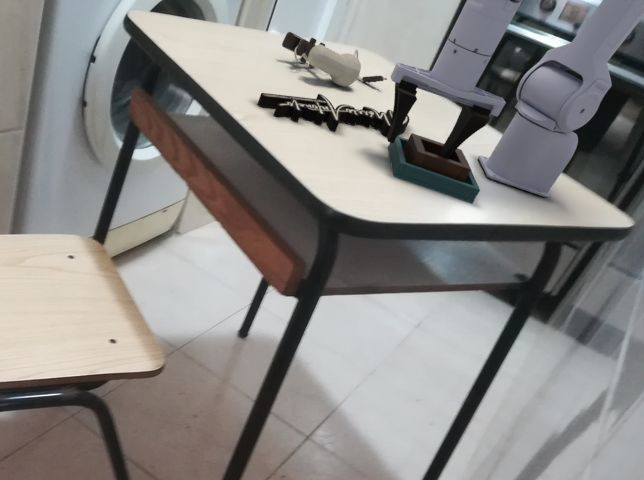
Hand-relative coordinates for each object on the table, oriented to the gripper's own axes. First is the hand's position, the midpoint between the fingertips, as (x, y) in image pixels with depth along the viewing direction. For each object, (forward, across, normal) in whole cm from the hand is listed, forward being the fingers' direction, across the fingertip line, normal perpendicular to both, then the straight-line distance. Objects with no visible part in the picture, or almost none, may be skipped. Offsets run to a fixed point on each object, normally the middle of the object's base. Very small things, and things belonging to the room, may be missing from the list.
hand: (416, 149), depth 91 cm
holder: (+3, -3, 0) cm, 4 cm away
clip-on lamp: (+3, +10, -32) cm, 33 cm away
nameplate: (+3, +9, -11) cm, 15 cm away
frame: (+2, -3, 0) cm, 4 cm away
